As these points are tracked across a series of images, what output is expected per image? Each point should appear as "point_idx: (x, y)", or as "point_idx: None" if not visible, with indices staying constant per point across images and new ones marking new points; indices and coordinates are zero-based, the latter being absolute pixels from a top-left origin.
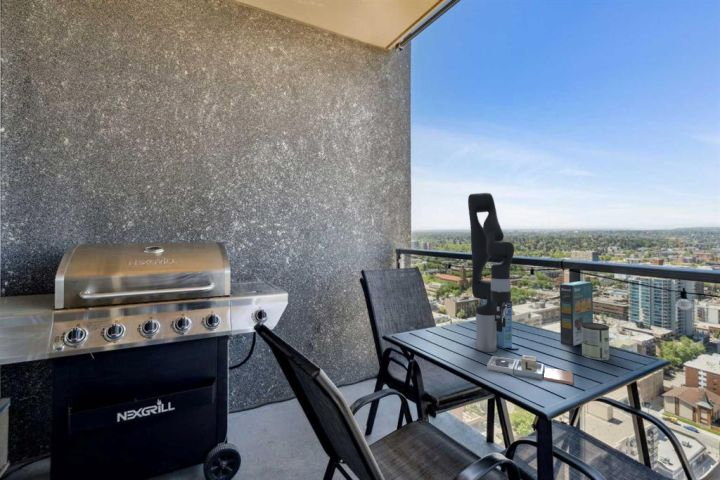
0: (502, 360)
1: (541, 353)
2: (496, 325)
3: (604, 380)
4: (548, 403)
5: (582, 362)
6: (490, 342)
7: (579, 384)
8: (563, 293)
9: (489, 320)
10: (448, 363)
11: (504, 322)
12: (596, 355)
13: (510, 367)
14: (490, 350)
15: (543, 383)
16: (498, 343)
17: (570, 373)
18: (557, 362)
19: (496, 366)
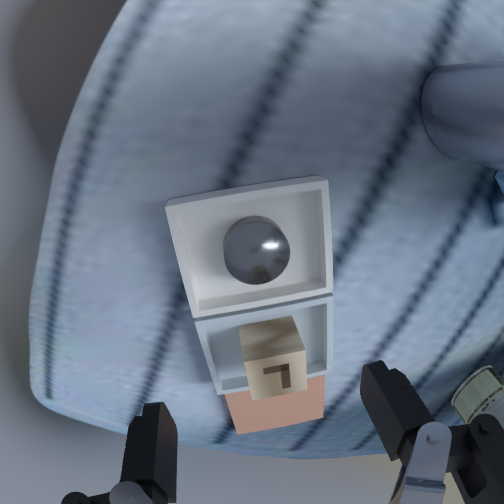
0: (268, 253)
1: (475, 300)
2: (137, 448)
3: (316, 448)
4: (73, 405)
5: (428, 391)
6: (460, 142)
7: (252, 433)
8: None
9: None
10: (133, 14)
11: (376, 424)
12: (457, 404)
13: None
14: (433, 137)
15: (188, 387)
16: None
17: (306, 418)
18: (410, 359)
19: (176, 251)
